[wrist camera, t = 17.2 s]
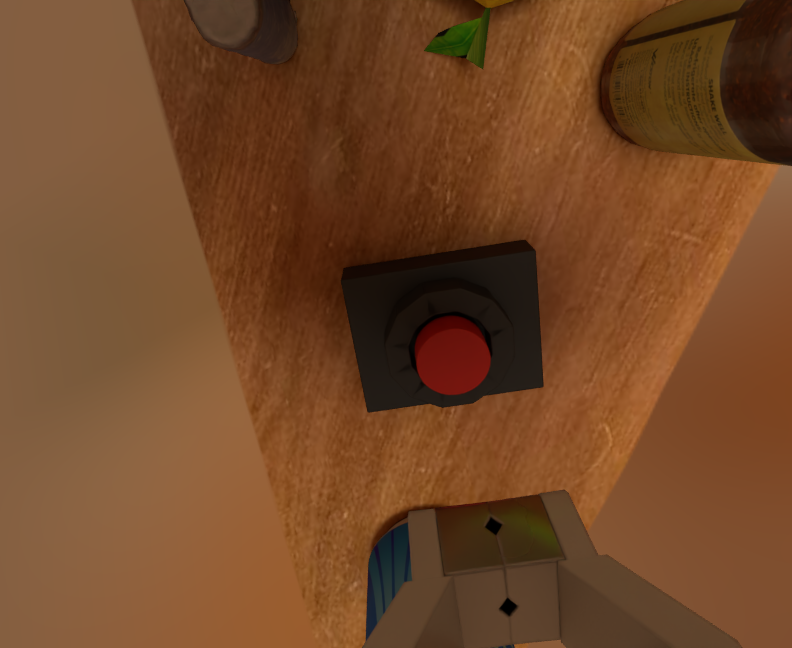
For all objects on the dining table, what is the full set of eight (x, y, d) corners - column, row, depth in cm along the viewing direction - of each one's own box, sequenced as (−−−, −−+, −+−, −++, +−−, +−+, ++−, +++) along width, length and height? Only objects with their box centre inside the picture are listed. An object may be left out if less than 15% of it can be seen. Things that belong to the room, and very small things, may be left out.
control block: (368, 393, 33) (366, 431, 30) (343, 267, 30) (337, 291, 26) (534, 369, 33) (553, 404, 29) (525, 239, 30) (545, 259, 26)
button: (419, 383, 29) (421, 400, 27) (409, 320, 28) (411, 334, 26) (487, 373, 29) (494, 389, 27) (481, 309, 27) (487, 323, 26)
